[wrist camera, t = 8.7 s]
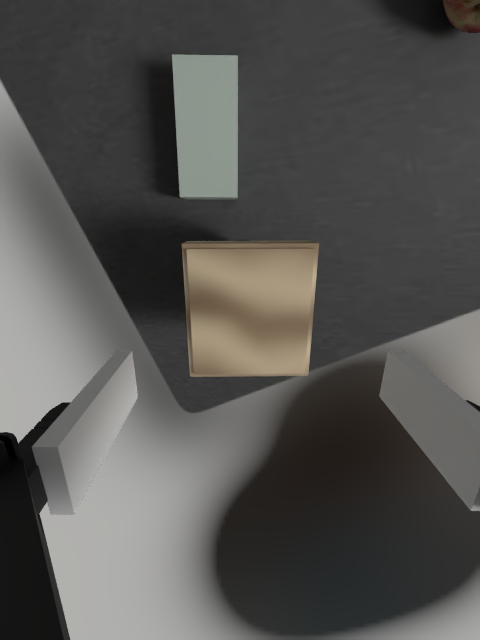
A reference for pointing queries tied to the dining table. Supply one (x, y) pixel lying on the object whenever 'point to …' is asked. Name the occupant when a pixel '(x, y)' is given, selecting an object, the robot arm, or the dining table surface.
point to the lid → (249, 306)
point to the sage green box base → (206, 125)
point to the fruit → (463, 14)
